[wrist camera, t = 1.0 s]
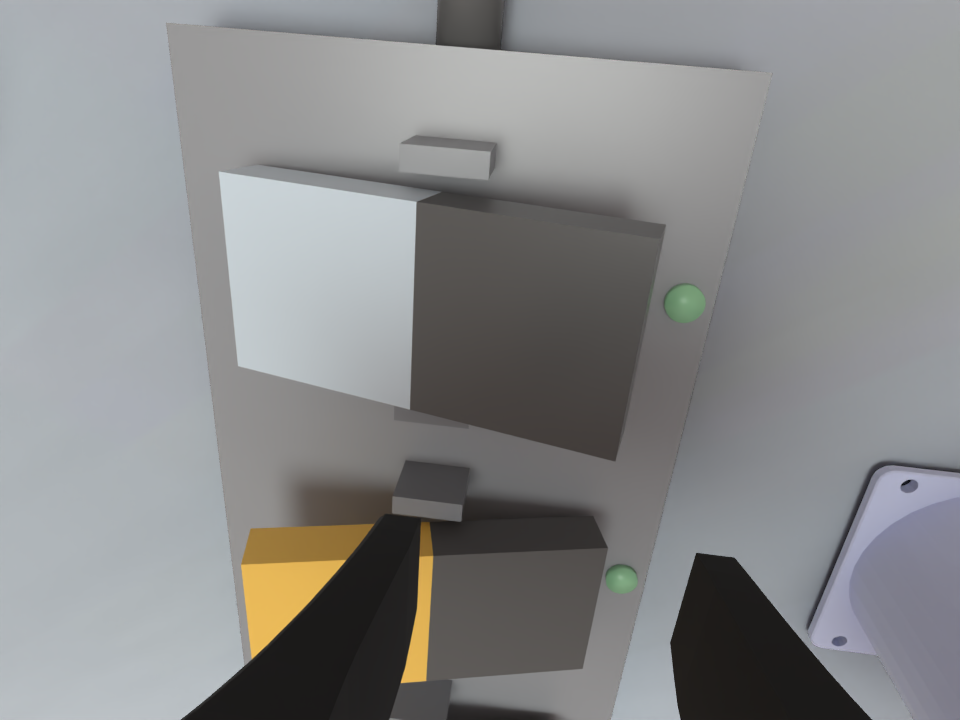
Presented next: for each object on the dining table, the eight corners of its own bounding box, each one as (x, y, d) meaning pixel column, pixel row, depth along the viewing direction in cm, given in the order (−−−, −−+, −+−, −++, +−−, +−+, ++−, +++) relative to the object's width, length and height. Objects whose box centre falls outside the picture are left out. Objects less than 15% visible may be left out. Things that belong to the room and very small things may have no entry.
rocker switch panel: (793, -151, 14) (883, -231, 10) (577, 783, 29) (581, 893, 25) (196, -188, 15) (74, -276, 11) (282, 739, 30) (242, 839, 26)
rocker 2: (593, 515, 19) (608, 548, 18) (570, 632, 21) (582, 668, 20) (250, 528, 18) (241, 564, 16) (263, 653, 20) (255, 694, 18)
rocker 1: (666, 224, 13) (659, 239, 12) (624, 431, 15) (615, 461, 14) (257, 164, 16) (218, 171, 14) (271, 346, 18) (237, 366, 17)
